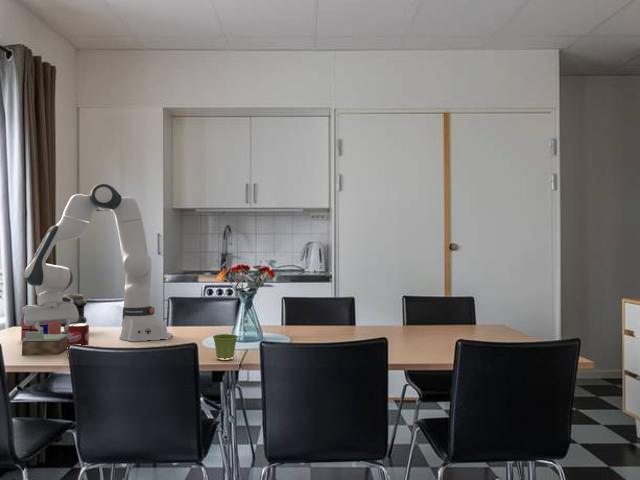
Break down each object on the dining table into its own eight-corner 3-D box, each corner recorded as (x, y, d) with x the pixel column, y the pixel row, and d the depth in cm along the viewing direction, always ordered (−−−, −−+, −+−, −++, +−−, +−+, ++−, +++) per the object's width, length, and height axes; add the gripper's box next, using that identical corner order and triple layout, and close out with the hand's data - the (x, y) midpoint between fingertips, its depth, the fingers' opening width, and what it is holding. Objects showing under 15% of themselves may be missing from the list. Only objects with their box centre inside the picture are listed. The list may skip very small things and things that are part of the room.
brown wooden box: (67, 349, 201) (67, 336, 201) (58, 354, 191) (58, 341, 192) (32, 349, 199) (33, 337, 199) (21, 355, 190) (22, 342, 190)
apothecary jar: (92, 331, 241) (92, 293, 241) (74, 335, 230) (74, 296, 230) (70, 329, 244) (71, 293, 244) (51, 334, 233) (52, 295, 233)
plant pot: (239, 356, 193) (239, 334, 193) (236, 362, 183) (236, 338, 183) (214, 356, 192) (215, 333, 192) (210, 362, 183) (210, 338, 183)
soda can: (82, 353, 194) (83, 322, 194) (92, 356, 190) (92, 324, 190) (63, 356, 189) (64, 324, 189) (72, 359, 184) (73, 326, 184)
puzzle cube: (40, 342, 215) (41, 318, 215) (20, 340, 217) (20, 317, 217) (57, 337, 225) (57, 315, 225) (37, 336, 227) (38, 314, 227)
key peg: (58, 345, 209) (58, 321, 209) (60, 346, 205) (60, 322, 205) (47, 346, 206) (48, 322, 206) (49, 348, 203) (50, 323, 203)
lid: (67, 335, 201) (67, 327, 201) (58, 340, 192) (58, 332, 192) (33, 336, 199) (33, 328, 199) (22, 341, 190) (22, 332, 190)
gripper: (22, 301, 205) (26, 328, 198) (76, 298, 218) (82, 324, 210) (20, 310, 209) (23, 338, 201) (74, 307, 221) (79, 333, 214)
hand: (54, 330), depth 206 cm, fingers open, 8 cm apart
